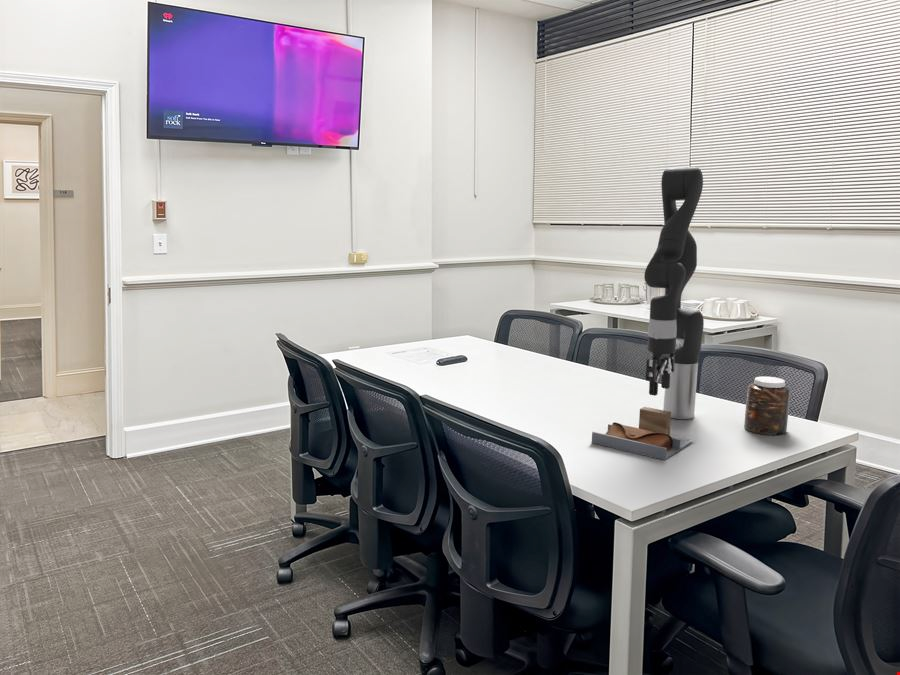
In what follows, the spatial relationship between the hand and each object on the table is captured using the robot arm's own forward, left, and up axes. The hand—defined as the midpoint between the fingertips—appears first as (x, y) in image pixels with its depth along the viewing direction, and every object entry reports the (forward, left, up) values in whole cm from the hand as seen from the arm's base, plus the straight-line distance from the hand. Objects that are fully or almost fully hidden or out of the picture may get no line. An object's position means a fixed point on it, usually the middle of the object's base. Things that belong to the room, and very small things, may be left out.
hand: (659, 391), depth 207 cm
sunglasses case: (+13, -1, -13) cm, 18 cm away
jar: (-27, +22, -13) cm, 37 cm away
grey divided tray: (+8, 0, -13) cm, 15 cm away
